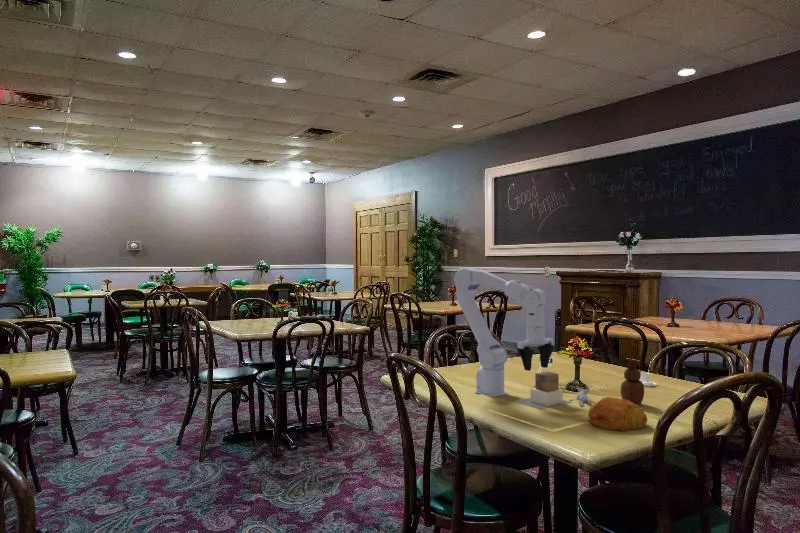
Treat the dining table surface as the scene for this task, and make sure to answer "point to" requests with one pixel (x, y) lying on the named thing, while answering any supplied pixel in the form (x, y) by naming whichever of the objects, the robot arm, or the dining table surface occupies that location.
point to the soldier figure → (582, 396)
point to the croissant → (617, 414)
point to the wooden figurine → (632, 384)
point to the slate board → (539, 406)
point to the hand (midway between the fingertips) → (536, 368)
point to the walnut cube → (546, 381)
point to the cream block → (546, 397)
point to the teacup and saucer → (647, 380)
